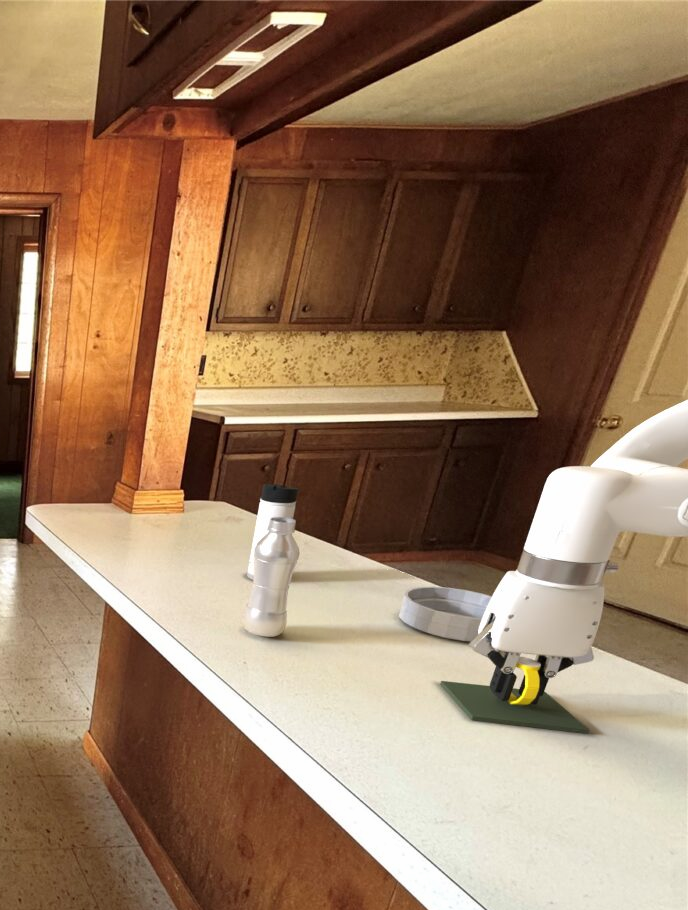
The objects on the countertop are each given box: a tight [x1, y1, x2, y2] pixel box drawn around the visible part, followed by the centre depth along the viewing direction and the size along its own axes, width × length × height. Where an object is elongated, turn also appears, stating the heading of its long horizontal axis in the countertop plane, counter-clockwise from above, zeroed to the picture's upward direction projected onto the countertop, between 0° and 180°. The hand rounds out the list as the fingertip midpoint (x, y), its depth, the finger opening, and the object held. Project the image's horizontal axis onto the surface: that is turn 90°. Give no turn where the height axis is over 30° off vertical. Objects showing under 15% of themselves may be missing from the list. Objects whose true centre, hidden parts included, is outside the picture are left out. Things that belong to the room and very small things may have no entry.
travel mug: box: [246, 483, 299, 581], centre depth 134 cm, size 6×7×20 cm
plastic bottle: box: [242, 517, 300, 638], centre depth 110 cm, size 6×7×20 cm
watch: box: [507, 656, 541, 705], centre depth 88 cm, size 6×3×6 cm, turn 164°
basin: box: [398, 586, 493, 643], centre depth 113 cm, size 15×15×4 cm
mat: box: [439, 680, 590, 735], centre depth 89 cm, size 12×10×1 cm
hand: (513, 696), depth 89 cm, fingers closed on watch, 2 cm apart
